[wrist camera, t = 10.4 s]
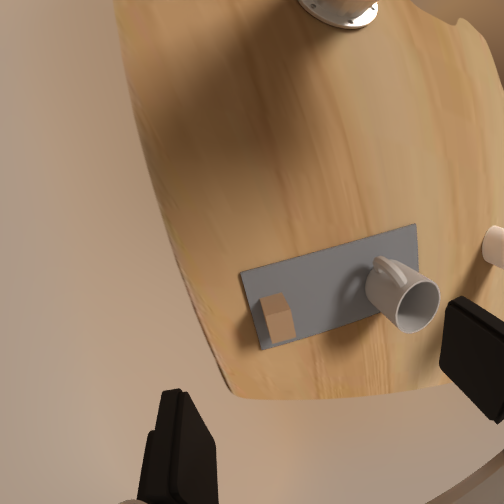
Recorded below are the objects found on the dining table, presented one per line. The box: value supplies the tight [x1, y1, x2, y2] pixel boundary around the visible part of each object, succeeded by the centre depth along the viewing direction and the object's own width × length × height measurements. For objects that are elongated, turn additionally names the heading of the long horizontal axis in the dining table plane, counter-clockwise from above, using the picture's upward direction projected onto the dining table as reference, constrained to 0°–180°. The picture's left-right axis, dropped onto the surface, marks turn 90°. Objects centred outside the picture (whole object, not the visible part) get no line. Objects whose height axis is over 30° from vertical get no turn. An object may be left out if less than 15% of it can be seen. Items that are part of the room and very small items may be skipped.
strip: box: [240, 224, 419, 350], centre depth 37 cm, size 12×26×5 cm, turn 104°
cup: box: [365, 256, 440, 333], centre depth 35 cm, size 7×10×9 cm
